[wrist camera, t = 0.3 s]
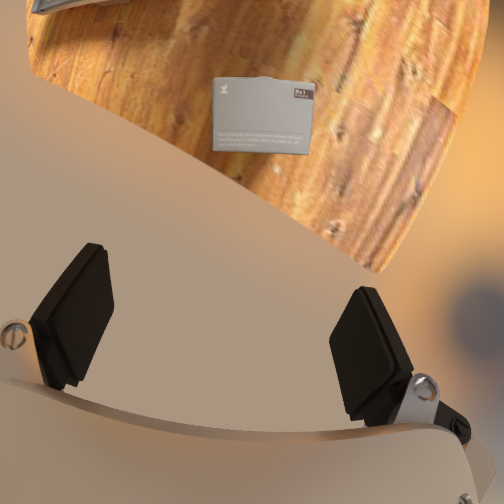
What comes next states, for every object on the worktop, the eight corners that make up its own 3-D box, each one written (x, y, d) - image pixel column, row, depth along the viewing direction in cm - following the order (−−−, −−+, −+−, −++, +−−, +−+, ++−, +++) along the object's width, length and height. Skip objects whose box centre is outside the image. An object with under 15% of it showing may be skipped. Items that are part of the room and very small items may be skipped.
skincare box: (222, 135, 35) (205, 161, 22) (223, 84, 31) (206, 74, 18) (285, 137, 35) (310, 165, 22) (289, 87, 32) (317, 81, 18)
